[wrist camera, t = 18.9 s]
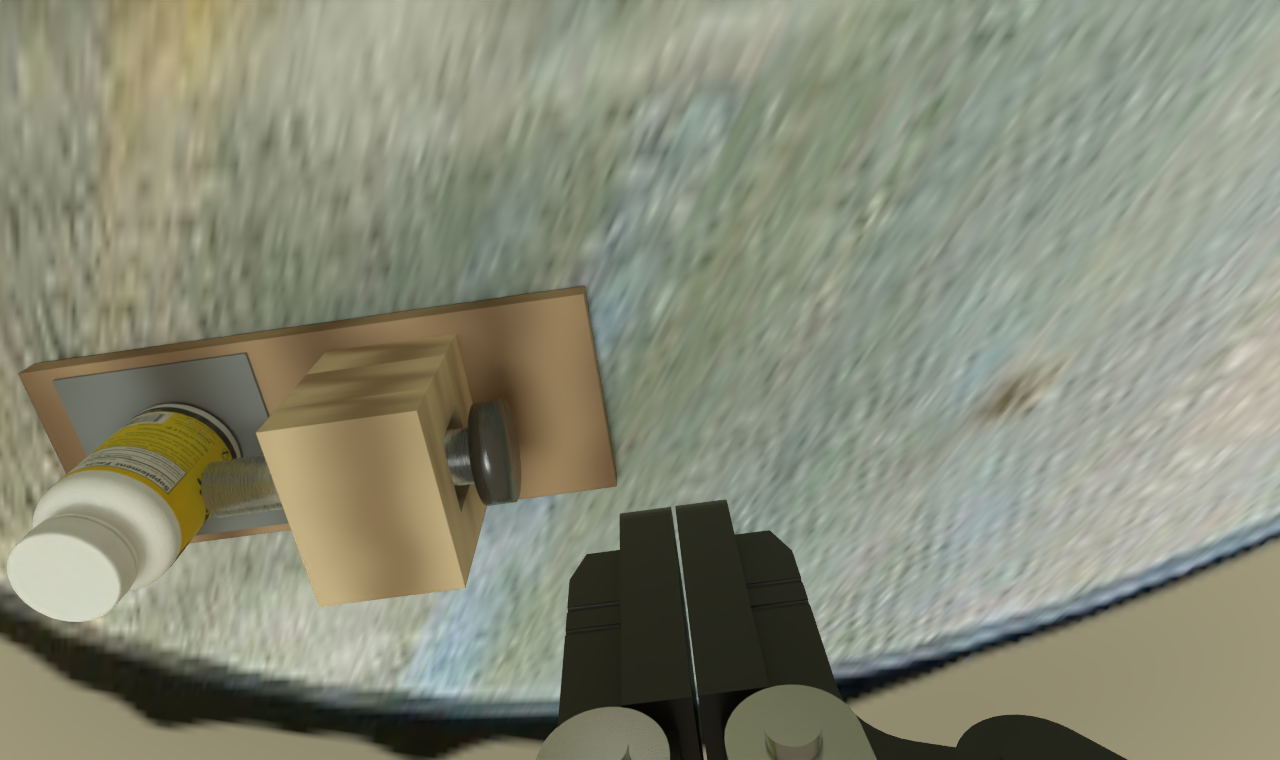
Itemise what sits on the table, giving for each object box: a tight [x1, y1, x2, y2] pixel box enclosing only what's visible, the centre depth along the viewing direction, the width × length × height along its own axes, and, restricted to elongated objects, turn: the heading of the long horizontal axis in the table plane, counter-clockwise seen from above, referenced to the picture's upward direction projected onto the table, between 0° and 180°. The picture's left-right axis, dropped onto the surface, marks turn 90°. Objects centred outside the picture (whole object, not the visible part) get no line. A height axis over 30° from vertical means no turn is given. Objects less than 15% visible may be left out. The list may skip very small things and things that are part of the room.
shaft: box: [201, 398, 521, 518], centre depth 35 cm, size 13×4×4 cm, turn 98°
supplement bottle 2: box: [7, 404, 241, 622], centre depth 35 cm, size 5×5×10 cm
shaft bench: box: [18, 286, 617, 607], centre depth 36 cm, size 26×10×9 cm, turn 98°
